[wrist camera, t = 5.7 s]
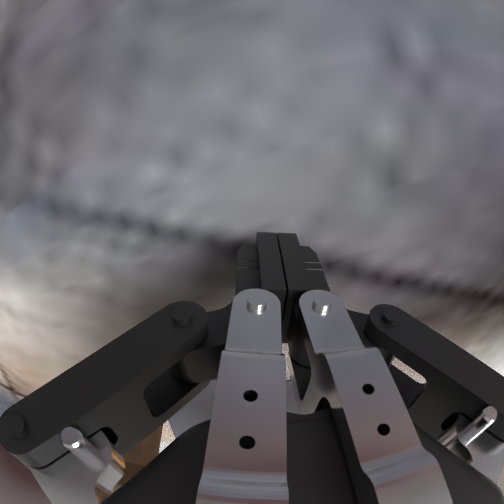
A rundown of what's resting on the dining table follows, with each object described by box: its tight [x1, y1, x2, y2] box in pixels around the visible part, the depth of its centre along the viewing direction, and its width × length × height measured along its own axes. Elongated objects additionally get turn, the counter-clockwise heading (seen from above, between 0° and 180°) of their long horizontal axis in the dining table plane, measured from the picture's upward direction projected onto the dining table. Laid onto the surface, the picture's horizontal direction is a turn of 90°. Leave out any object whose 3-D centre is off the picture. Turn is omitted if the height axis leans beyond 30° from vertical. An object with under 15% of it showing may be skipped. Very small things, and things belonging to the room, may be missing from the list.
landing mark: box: [168, 380, 297, 438], centre depth 22 cm, size 14×14×1 cm
